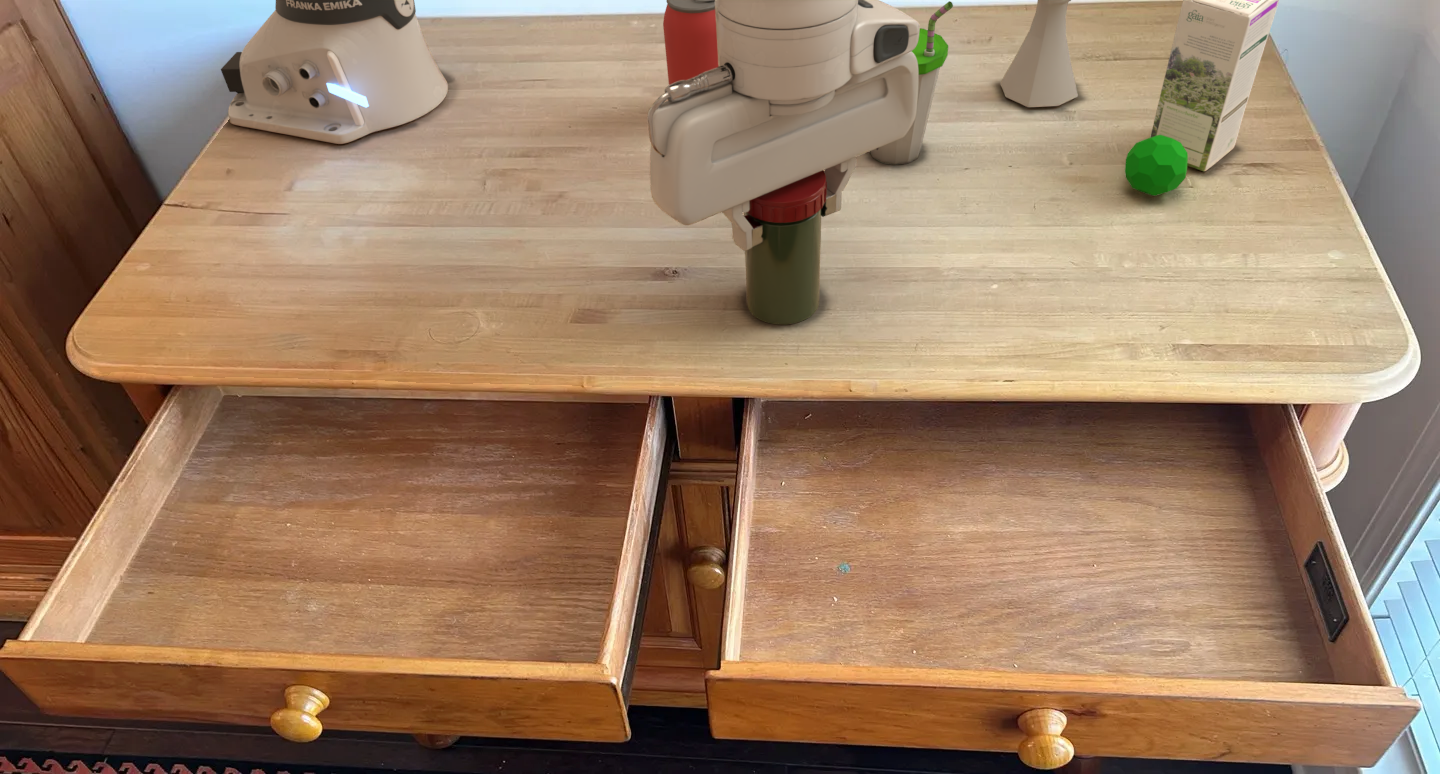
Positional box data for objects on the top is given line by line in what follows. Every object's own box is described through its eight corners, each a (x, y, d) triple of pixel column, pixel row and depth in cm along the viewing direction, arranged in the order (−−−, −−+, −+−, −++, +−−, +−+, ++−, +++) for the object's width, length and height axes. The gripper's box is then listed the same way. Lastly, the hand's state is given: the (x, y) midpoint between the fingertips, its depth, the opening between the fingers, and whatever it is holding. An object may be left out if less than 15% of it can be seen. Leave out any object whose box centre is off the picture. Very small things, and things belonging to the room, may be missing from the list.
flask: (1051, 70, 107) (1067, -29, 101) (1090, 101, 102) (1111, -1, 95) (987, 83, 106) (999, -16, 99) (1023, 115, 101) (1039, 14, 94)
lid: (810, 230, 72) (810, 209, 71) (725, 214, 74) (724, 193, 73) (837, 183, 76) (838, 162, 75) (756, 169, 78) (756, 148, 77)
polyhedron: (1109, 192, 90) (1120, 143, 87) (1135, 168, 93) (1147, 119, 90) (1165, 212, 88) (1179, 161, 84) (1190, 187, 90) (1205, 137, 87)
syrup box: (1236, 148, 94) (1285, -12, 85) (1203, 175, 91) (1251, 12, 82) (1176, 128, 97) (1217, -29, 88) (1143, 153, 95) (1182, -7, 85)
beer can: (731, 134, 101) (724, 12, 93) (665, 130, 102) (652, 10, 94) (744, 101, 106) (738, -17, 98) (680, 98, 107) (670, -19, 99)
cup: (837, 142, 99) (841, -17, 89) (911, 124, 101) (924, -34, 91) (876, 182, 93) (885, 18, 83) (953, 162, 95) (971, -1, 85)
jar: (740, 321, 80) (735, 205, 73) (753, 277, 84) (750, 163, 77) (813, 328, 79) (816, 211, 72) (823, 283, 83) (826, 168, 76)
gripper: (673, 113, 61) (690, 302, 70) (940, 17, 69) (923, 198, 78) (619, 74, 65) (642, 258, 74) (877, -13, 73) (868, 163, 82)
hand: (788, 226), depth 76 cm, fingers closed on jar, 5 cm apart
